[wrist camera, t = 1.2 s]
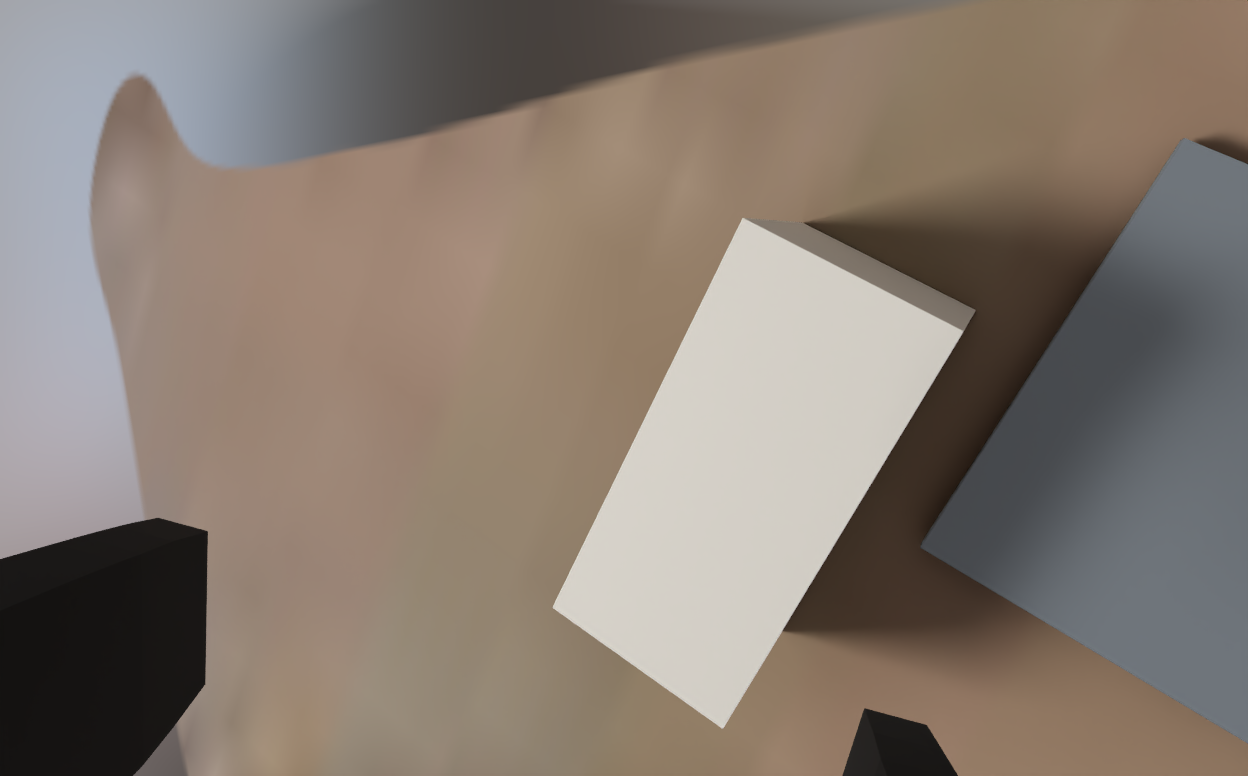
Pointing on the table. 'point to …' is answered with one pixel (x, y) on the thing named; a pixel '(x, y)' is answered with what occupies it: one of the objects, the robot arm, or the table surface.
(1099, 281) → the mat
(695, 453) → the white rectangular block
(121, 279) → the table surface
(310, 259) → the table surface
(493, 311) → the table surface
